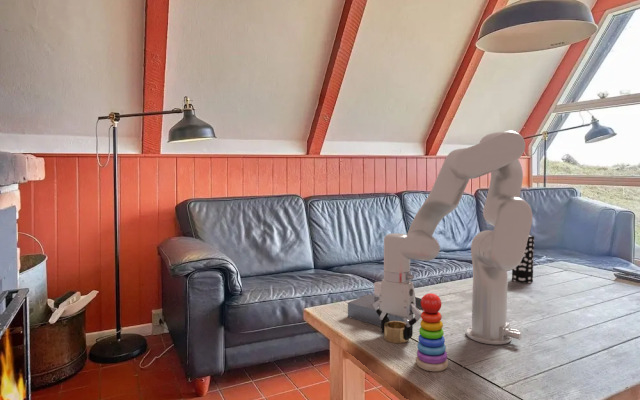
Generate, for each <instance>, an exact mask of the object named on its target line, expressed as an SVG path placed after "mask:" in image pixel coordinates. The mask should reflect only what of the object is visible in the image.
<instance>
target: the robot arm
mask: <svg viewBox="0 0 640 400" xmlns="http://www.w3.org/2000/svg"><path fill="white" fill-rule="evenodd" d="M525 150H526V142H525V139H524V137H523V136H522V135H521V134H520V133H518V132H516V131H514V130H504V131H498V132H492V133H488V134H486V135H484V136H483V137H482V138H481V139H480V141H479V143H476V144H475V145H472V146H469V147H464V148H457V149H453V150H451V151H450V152H449V153H448V154H447V155H446V157H445V159H444V162H443V164H442V165H441V167H440V170H439V173H438V174H437V176H436V179H435V182H434V183H433V186H432V189H431V190H430V193H429V194H428V196H427V198H426V199H425V200H424V202H423V203H422V205H420V206H421V207H420V208H419V209H418V211H417V212H416V214H415V216H414V218H413V220H412V222H411V224H410V227H409V228H408V231H407V234H405V233H399V232H398V233H397V232H396V233H395V232H394V233H388V234H386V235H384V237H383V278H382V279H381V282H382V283H381V288H380V299H379V300H378V301H376V302H375V303H373V306H374V308H375V310H376V312H377V314H378V315H379V318H380V320H381V326H380V327H381V334H383V335H384V325H385V323H387V322H389V318H388V315H389V314H392V315H396V316H399V317H403V319H404V321H405V324H406V326H405V327H404V339H405V340H408V339H409V340H410V339H412V337H413V333H414V330H413V328H414V327H413V325H415V324H416V323H418V322H419V320H420V319H422V318H421V313H422V312H421V311H420V309H418V308H416V301H415V297H416V292H415V286H414V282H413V281H412V280H414V279H415V276H414V275H413V274H412V273H411V260H415V261H422V262H423V261H424V262H426V261H427V262H429V261H432V260H434V259H435V258H437V257H438V255H439V254H440V251H441V250H440V249H441V247H440V243H439V241H438V240H437V239H436V237H434V236H433V235H434V233H435V231H436V229H437V227H438V225H439V224H440V222H441V221H442V220H443V219H444V218H445V217H446V216H447V215H449V214H450V213H452V212H453V211H455V209H456V208H457V207H458V206H459V204H460V201H461V199H462V198H463V195H464V192H465V190H466V188H467V185H468V184H469V181H470V180H473V179H478V178H480V177H483V176H485V175H487V174H490V181H489V186H488V191H487V195H486V200H485V202H484V206H483V210H482V211H483V213H482V215H483V218H484V221H486V223H487V224H489V225H491V226H493V227H494V228H493V230H489V229H487V230H482V231H479V232H478V233H477V234H476V235H474V237H473V238H472V241H471V245H470V253H471V255H470V256H471V261H472V262H471V263H472V294H471V295H472V300H471V301H472V303H471V305H472V307H471V326H469V327H467V328H466V329H465V334H466V336H467V337H468V338H469V339H471V340H473V341H475V342H477V343H481V344H484V345H485V344H486V345H497V346H499V345H505V344H508V343H510V342H512V339H515V340H521V339H522V332H520V330H519V329H513V328H511V327H510V322H507V314H508V313H507V310H508V307H507V306H508V284H509V283H508V281H509V279H508V271H512V269H514V268H516V267H517V266H518V265H519V264H520V262H521V261H522V258H523V256H524V253H525V249H526V245H527V241H528V237H529V235H530V232H531V228H532V224H533V211H532V207H531V206H530V205H529V203H528V202H527V201H526V200H525V199H523V198H521V191H522V186H523V185H522V184H523V179H524V176H523V175H524V174H523V173H524V172H523V167H522V164H521V162H520V160H519V159H520V158H521V157H522V156H523V154H524V153H525ZM411 314H413V315H414V316H413V318H412V315H411Z"/></svg>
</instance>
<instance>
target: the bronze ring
mask: <svg viewBox="0 0 640 400" xmlns="http://www.w3.org/2000/svg"><path fill="white" fill-rule="evenodd" d="M405 326H406V324H405V322H401V321H389V322H387V323H385V325H384V334H383V335H384V337H383V339H384V340H385V341H386V342H389V343H392V344H404V343H407V342H409V340H410V339H408V340H405V339H404V327H405Z"/></svg>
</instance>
